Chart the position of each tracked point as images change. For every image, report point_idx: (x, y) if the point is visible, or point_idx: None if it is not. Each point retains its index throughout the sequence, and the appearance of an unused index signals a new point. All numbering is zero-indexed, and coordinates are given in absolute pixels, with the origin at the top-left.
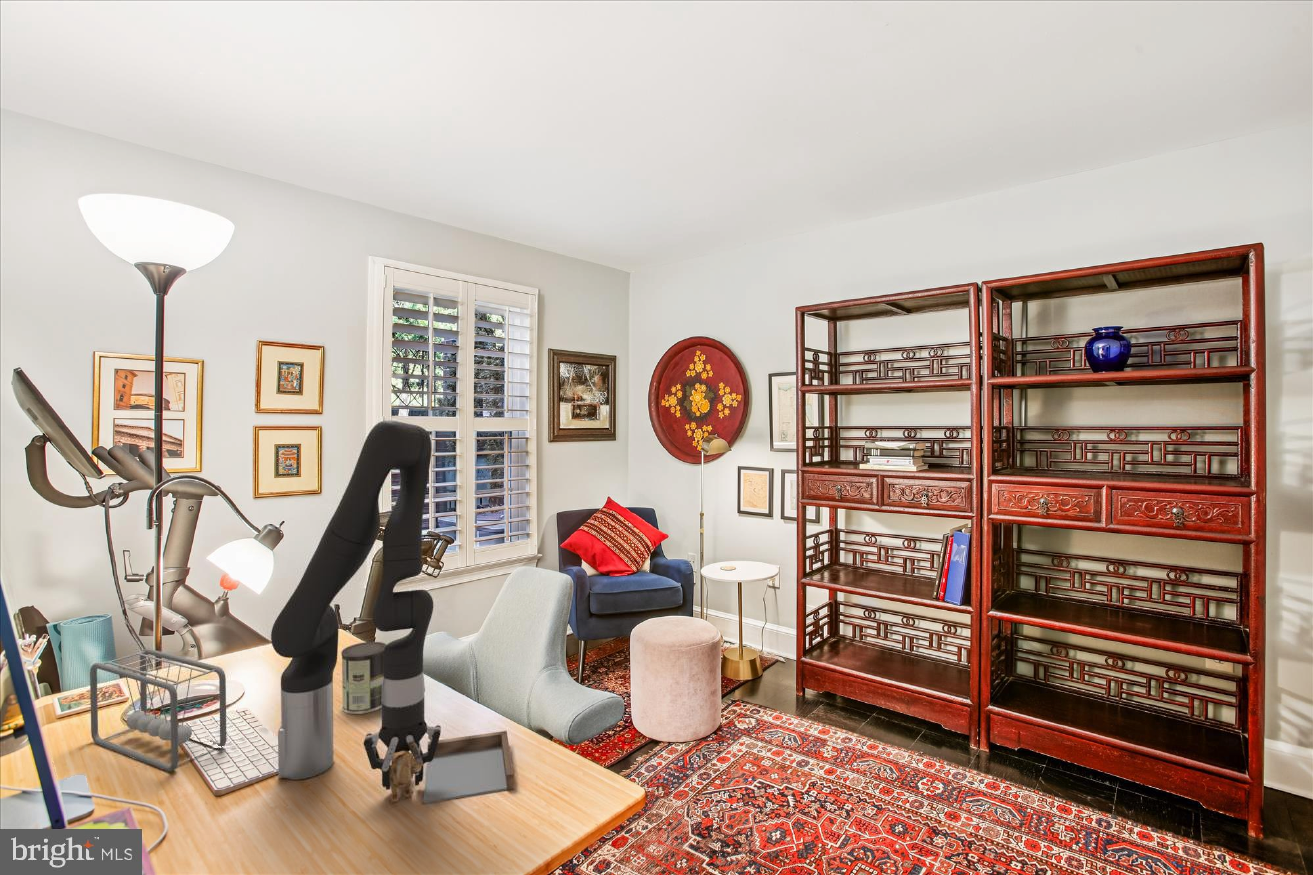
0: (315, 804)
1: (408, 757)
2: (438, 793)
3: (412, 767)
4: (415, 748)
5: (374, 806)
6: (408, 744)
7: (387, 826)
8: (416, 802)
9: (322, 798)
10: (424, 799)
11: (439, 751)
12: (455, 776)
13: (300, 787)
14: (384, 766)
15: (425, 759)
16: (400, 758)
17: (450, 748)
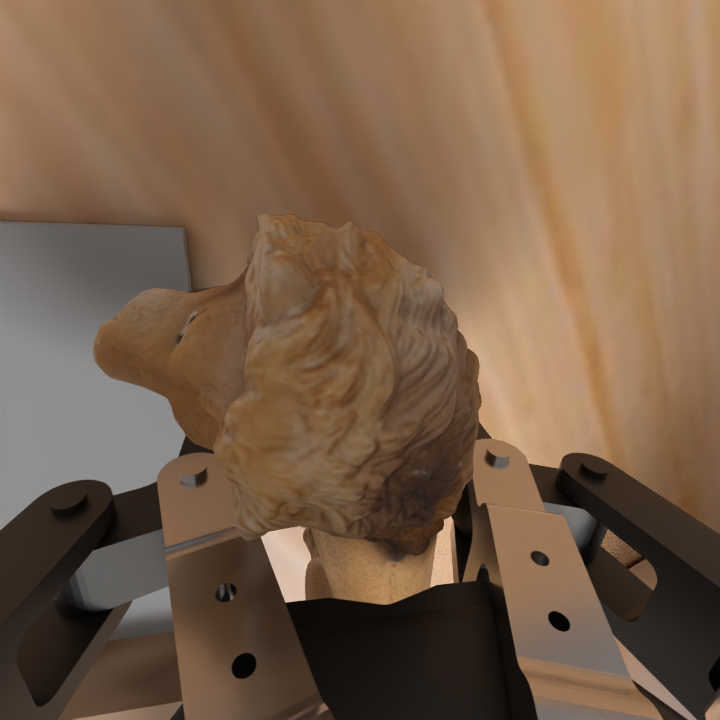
0: (692, 384)
1: (290, 384)
2: (88, 299)
3: (226, 293)
4: (203, 625)
5: (469, 293)
6: (320, 703)
7: (405, 22)
8: (235, 259)
9: (660, 419)
10: (178, 254)
11: (164, 651)
12: (13, 456)
13: (704, 501)
14: (510, 465)
15: (131, 511)
16: (432, 408)
17: (100, 669)
